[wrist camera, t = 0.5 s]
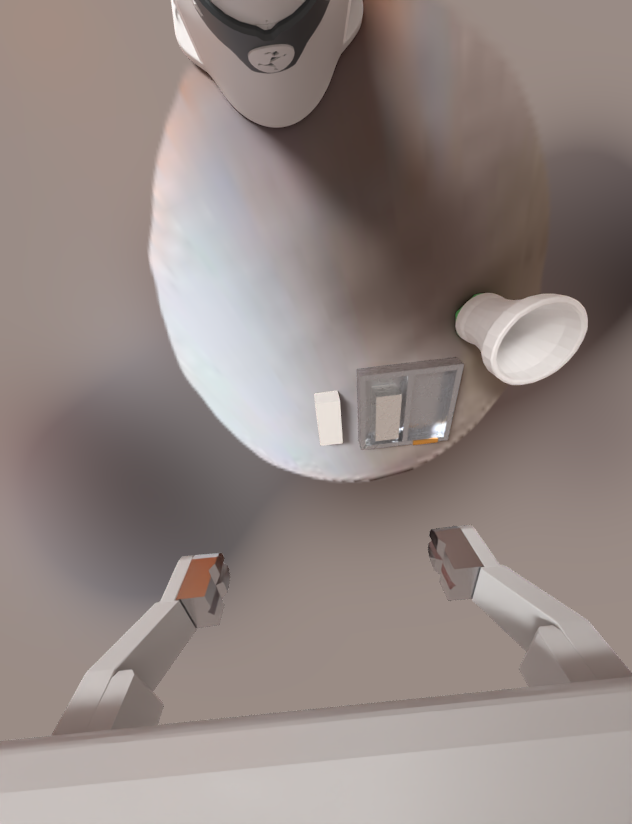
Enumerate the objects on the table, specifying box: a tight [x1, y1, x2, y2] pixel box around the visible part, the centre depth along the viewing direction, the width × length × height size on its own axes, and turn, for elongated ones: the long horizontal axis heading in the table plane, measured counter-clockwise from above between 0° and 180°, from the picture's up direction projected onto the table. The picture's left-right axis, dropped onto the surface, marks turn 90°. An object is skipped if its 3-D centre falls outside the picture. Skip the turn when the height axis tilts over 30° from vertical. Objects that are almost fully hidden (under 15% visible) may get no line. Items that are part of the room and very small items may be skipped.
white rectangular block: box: [314, 391, 343, 446], centre depth 52 cm, size 10×4×4 cm, turn 6°
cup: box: [455, 293, 588, 385], centre depth 39 cm, size 11×11×14 cm
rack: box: [357, 357, 464, 450], centre depth 51 cm, size 17×18×5 cm
